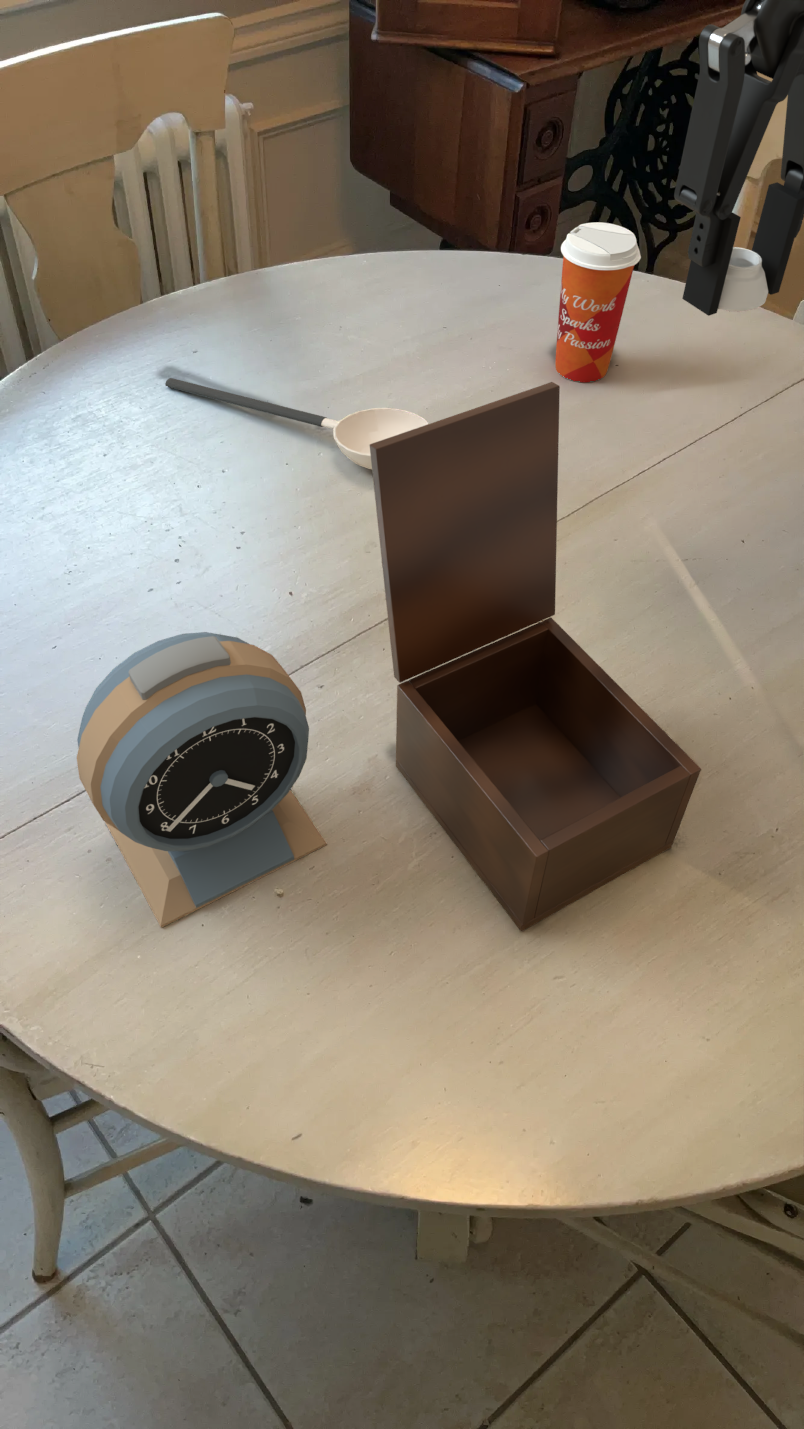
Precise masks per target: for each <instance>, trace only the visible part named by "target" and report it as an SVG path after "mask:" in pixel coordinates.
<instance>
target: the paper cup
mask: <svg viewBox="0 0 804 1429" xmlns="http://www.w3.org/2000/svg"><path fill="white" fill-rule="evenodd" d="M637 241H638V240H637V238H636V235H635V233H634V232H632V231H631V230H629V228H626V227H624V226H621V225H618V224H614V223H609V222H600V221H599V222H597V221H596V222H586V223H581V224H578V226H576V227H574V228H573V229H572V230H570V231H569V233H567V234H566V238H565V239H564V240H563V242H562V243H561V245H560V252H561V255H562V267H561V268H562V269H561V279H560V280H561V282H560V295H559V304H558V305H559V306H558V320H557V333H556V346H555V371H556V372H557V374H559V373H560V374H559V375H560V376H561V375H562V376H561V377H563V376H564V377H565V378H564V377H563V378H564V379H566V378H568V379H571V380H573V381H572V382H575V381H580V382H579V383H591V382H590V381H594V382H597V381H599V380H598V379H600V380H601V378H602V379H603V378H604V377H605V376H606V375H607V373H608V370H609V368H610V363H611V360H612V356H613V352H614V348H615V345H616V342H617V336H618V333H619V328H620V324H621V321H622V316H623V313H624V308H625V304H626V301H627V296H628V292H629V288H630V284H631V279H632V276H633V272H634V268H635V265H637V264H638V263H639V262H640V260H641V259H642V256H641V251H640V248H639V246H638V243H637ZM568 379H567V380H568ZM571 380H570V381H571ZM596 380H597V381H596Z"/></svg>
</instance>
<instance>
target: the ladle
mask: <svg viewBox="0 0 804 1429" xmlns="http://www.w3.org/2000/svg"><path fill="white" fill-rule="evenodd" d="M164 385H165V387H166V386H168V387H167V388H169V387H171V388H170V389H173V388H174V390H178V391H181V392H185V393H189V394H193V395H197V396H199V397H200V396H201V397H204V398H209V399H212V400H215V401H220V402H224V403H228V404H230V405H231V404H232V405H235V406H238V407H239V406H240V407H243V408H248V409H251V410H255V411H259V412H263V413H266V414H270V415H274V416H278V417H282V418H285V419H289V420H294V421H298V422H301V423H305V424H308V425H312V426H316V427H321V428H326V429H331V430H333V433H332V434H333V435H332V436H333V439H334V441H335V444H336V445H337V447H338V449H339V450H340V451H341V453H342V454H343V455H344V456H345V457H347V458H348V459H349V460H350V461H351V462H353V463H354V464H356V465H357V466H360V467H363V468H366V469H369V470H372V464H371V454H370V444H372V443H375V442H378V441H381V440H384V439H387V438H390V437H393V436H396V435H399V434H401V433H404V432H407V431H410V430H413V429H416V428H419V427H422V426H425V425H428V424H430V422H429V421H428V420H427V419H426V418H424V417H422V416H421V415H419V414H417V413H414V412H413V411H412V412H411V411H408V410H405V409H400V408H393V407H372V408H367V409H361V410H357V411H355V412H353V413H350V414H348V415H346V416H344V417H343V418H341V419H340V420H335V419H332V418H328V417H326V416H322V415H319V414H315V413H310V412H307V411H303V410H299V409H295V408H291V407H287V406H283V405H279V404H275V403H271V402H268V401H263V400H260V399H257V398H256V399H255V398H252V397H248V396H244V395H240V394H236V393H233V392H228V391H224V390H220V389H216V388H213V387H209V386H204V385H200V384H197V383H192V382H188V381H185V380H181V379H177V378H173V377H169V378H168V379H166V381H165V383H164Z"/></svg>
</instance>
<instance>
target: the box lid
mask: <svg viewBox="0 0 804 1429" xmlns="http://www.w3.org/2000/svg"><path fill="white" fill-rule="evenodd" d="M560 389H561V387H560V385H559V384H557V383H555V382H553V381H550V382H547V383H544V384H541V385H539V386H536V387H532V388H530V389H527V390H523V391H521V392H518V393H515V394H513V395H509V396H507V397H504V398H501V399H497V400H495V401H492V402H488V403H486V404H482V405H481V406H478V407H477V406H476V407H475V408H471V409H469V410H465V411H462V412H460V413H457V414H454V415H452V416H449V417H446V418H442V419H439V420H437V421H434V422H431V423H429V424H428V425H425V426H422V427H419V428H416V429H413V430H410V431H407V432H404V433H401V434H399V435H396V436H393V437H390V438H387V439H384V440H381V441H378V442H375V443H372V444H370V454H371V464H372V469H371V474H372V480H373V481H372V482H373V492H374V500H375V508H376V509H375V512H376V519H377V528H378V538H379V548H380V557H381V565H382V576H383V585H384V595H385V604H386V614H387V622H388V631H389V632H388V633H389V642H390V650H391V652H390V653H391V661H392V662H391V663H392V671H393V678H394V679H395V680H397V681H398V683H399V684H401V683H403V682H405V681H409V680H410V679H412V678H414V677H416V676H419V675H421V674H423V673H425V672H428V671H430V670H432V669H435V668H437V667H439V666H441V665H444V664H446V663H448V662H450V661H453V660H455V659H457V658H460V657H462V656H464V655H466V654H469V653H471V652H473V651H475V650H478V649H480V648H482V647H485V646H487V645H489V644H491V643H494V642H496V641H498V640H500V639H503V638H505V637H507V636H510V635H512V634H514V633H516V632H519V631H521V630H523V629H525V628H528V627H530V626H532V625H534V624H537V623H539V622H542V621H544V620H546V619H548V618H550V617H551V618H552V617H553V616H555V615H556V588H557V586H556V585H557V584H556V582H557V539H558V536H557V534H558V492H559V490H558V486H559V485H558V484H559V438H560V437H559V436H560V435H559V432H560V394H561V393H560V391H561V390H560Z"/></svg>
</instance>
